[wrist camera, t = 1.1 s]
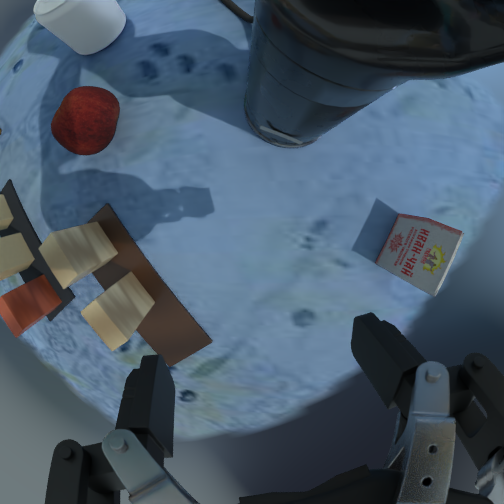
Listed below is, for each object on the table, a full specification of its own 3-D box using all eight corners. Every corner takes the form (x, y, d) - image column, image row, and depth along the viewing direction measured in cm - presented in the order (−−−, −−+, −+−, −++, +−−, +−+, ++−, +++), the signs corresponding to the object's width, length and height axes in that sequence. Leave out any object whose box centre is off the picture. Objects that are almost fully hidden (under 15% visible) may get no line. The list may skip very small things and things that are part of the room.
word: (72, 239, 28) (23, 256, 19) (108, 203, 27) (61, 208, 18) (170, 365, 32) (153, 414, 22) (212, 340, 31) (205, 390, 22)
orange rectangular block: (36, 283, 28) (-5, 305, 19) (44, 274, 28) (1, 295, 19) (54, 309, 29) (15, 338, 20) (62, 301, 29) (22, 329, 20)
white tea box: (418, 227, 30) (472, 241, 20) (395, 275, 31) (444, 303, 21) (398, 213, 29) (453, 222, 19) (374, 263, 30) (423, 289, 20)
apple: (107, 86, 24) (75, 61, 16) (144, 122, 26) (115, 101, 18) (67, 132, 25) (28, 120, 17) (100, 171, 26) (60, 167, 19)
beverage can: (122, 47, 23) (81, -1, 11) (70, 63, 23) (20, 29, 11) (132, 5, 22) (102, -44, 10) (82, 21, 21) (44, -17, 9)
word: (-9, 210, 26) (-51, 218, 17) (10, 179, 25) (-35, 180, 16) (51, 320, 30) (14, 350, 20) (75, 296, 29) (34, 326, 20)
